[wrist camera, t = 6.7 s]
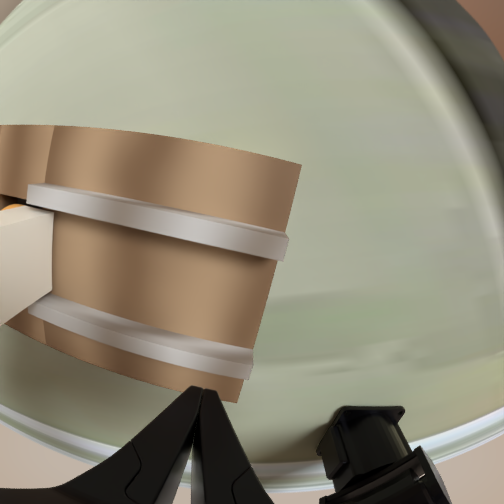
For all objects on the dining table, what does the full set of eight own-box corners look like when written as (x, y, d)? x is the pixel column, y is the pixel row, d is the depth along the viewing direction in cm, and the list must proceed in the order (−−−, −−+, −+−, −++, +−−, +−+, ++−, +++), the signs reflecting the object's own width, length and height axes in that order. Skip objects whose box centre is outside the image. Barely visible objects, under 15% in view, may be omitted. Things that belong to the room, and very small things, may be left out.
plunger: (54, 212, 13) (-34, 237, 7) (52, 289, 14) (-19, 340, 8) (24, 205, 13) (-59, 226, 6) (24, 278, 14) (-46, 321, 8)
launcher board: (292, 167, 16) (308, 163, 11) (238, 374, 19) (236, 419, 15) (10, 128, 14) (-30, 124, 10) (3, 297, 18) (-30, 318, 13)
